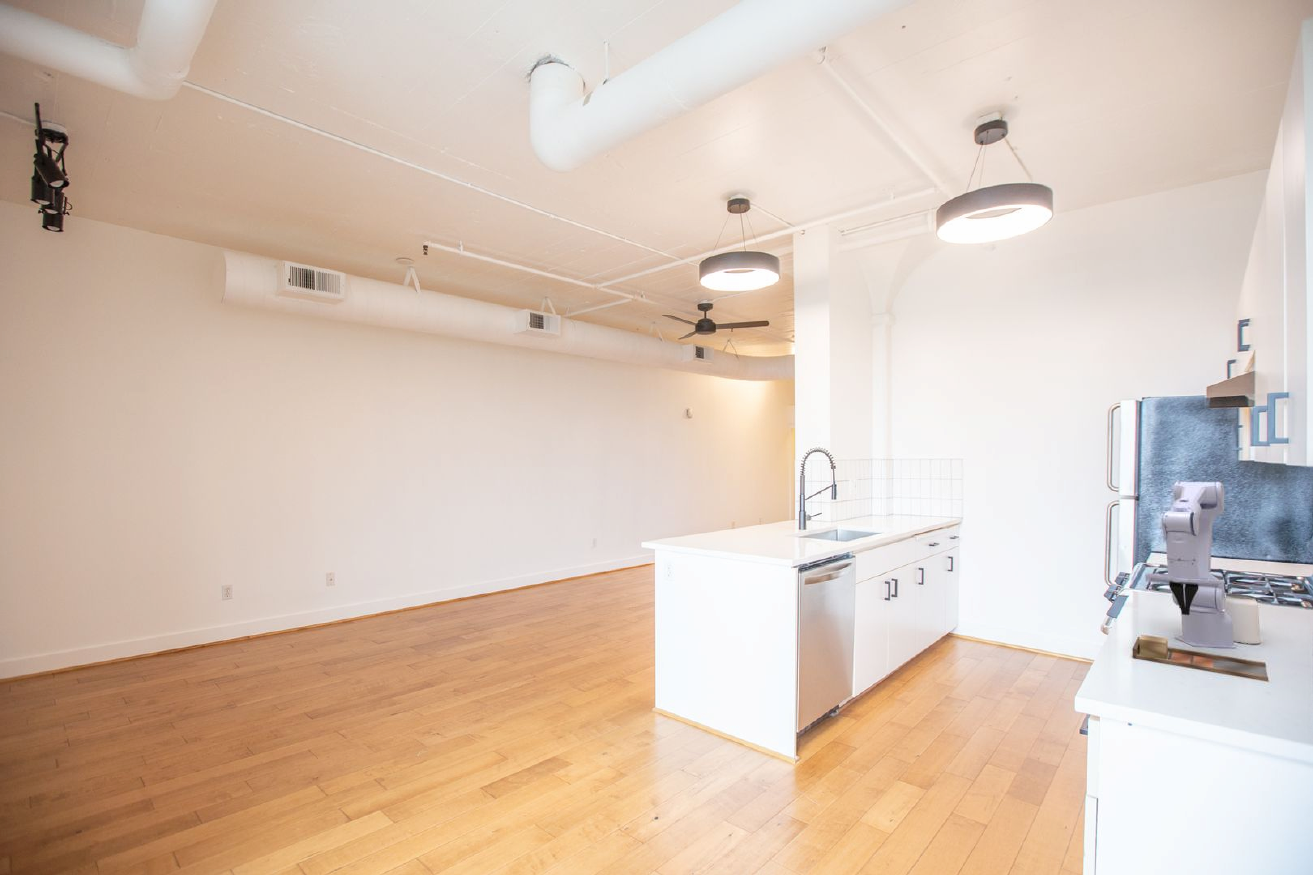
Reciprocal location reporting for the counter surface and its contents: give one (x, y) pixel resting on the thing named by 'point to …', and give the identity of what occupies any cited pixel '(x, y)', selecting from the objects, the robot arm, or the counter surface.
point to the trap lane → (1208, 662)
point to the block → (1153, 646)
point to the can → (1243, 617)
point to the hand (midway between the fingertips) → (1185, 613)
